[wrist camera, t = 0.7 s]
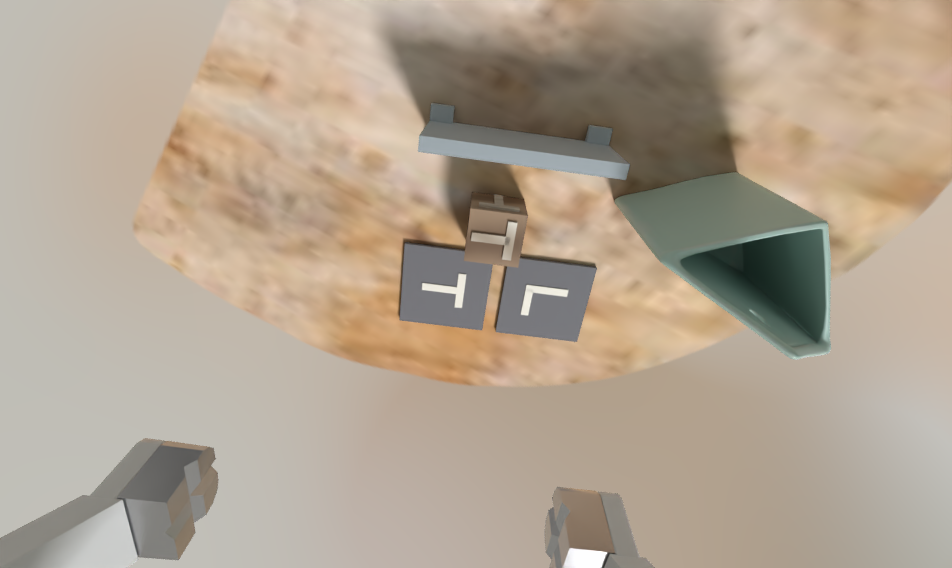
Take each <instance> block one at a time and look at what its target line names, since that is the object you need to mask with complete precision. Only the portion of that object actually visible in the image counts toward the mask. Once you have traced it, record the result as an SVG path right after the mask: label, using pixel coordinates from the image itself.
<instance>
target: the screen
mask: <svg viewBox="0 0 952 568" xmlns="http://www.w3.org/2000/svg"><path fill="white" fill-rule="evenodd" d="M454 108H455V106H452V105H445V104H438V103H431V111H430V121H429V122H428V124H427V125H426V127H425V128H424V130H423V131H422V132H421V134H420V135H419V147H418V152H423V153H431V154H438V155H445V156H453V157H460V158H467V159H475V160H482V161H489V162H497V163H504V164H511V165H519V166H526V167H533V168H541V169H548V170H555V171H563V172H570V173H577V174H585V175H592V176H599V177H607V178H614V179H621V180H626V178H627V174H628V171H629V167H630V164H629V163H628V162H627V161H626V160H624V159H623V158H622V157H621V156H620V155H619V154H618V153H617V152H615V151H614V150H613V149H612V148H611V147H610V146H609V143H610V139H611V135H612V131H613V129H612V128H608V127H601V126H594V125H589V126H588V130H587V135H586V139H585V141H583V140H576V139H569V138H562V137H554V136H547V135H540V134H533V133H526V132H519V131H511V130H504V129H497V128H490V127H483V126H475V125H468V124H461V123H454V122H453V117H454Z"/></svg>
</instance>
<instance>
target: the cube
mask: <svg viewBox="0 0 952 568" xmlns="http://www.w3.org/2000/svg"><path fill="white" fill-rule="evenodd" d="M527 218H528V214H527V210H526V206H525V201H524V199H520V198H513V197H505V196H503V195H496V194H494V195H490V194H483V193H475V192H472V197H471V205H470V213H469V221H468V228H467V236H466V244H465V254H464V261H469V262H477V263H485V264H493V265H501V266H509V267H517V268H518V266H519V260H520V255H521V250H522V245H523V239H524V234H525V229H526V223H527Z"/></svg>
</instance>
